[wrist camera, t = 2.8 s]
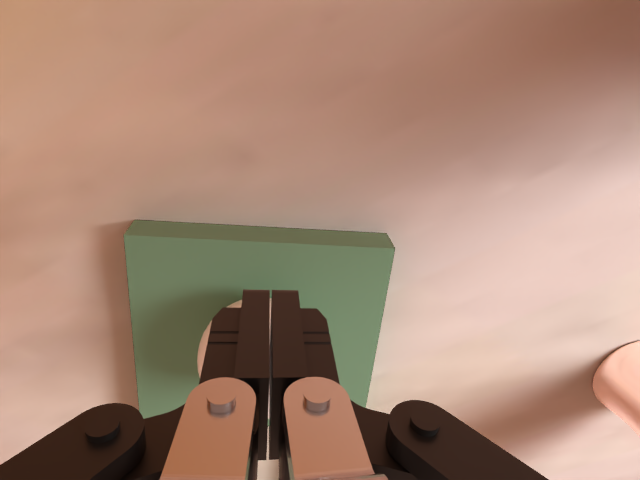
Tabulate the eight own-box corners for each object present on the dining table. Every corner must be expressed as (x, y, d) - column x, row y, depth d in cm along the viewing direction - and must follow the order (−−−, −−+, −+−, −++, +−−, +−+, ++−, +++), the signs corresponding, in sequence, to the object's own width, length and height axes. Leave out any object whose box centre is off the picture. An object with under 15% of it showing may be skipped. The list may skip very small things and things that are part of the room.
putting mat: (134, 220, 24) (123, 234, 23) (386, 233, 26) (395, 248, 24) (158, 528, 35) (152, 555, 33) (335, 523, 37) (339, 548, 35)
